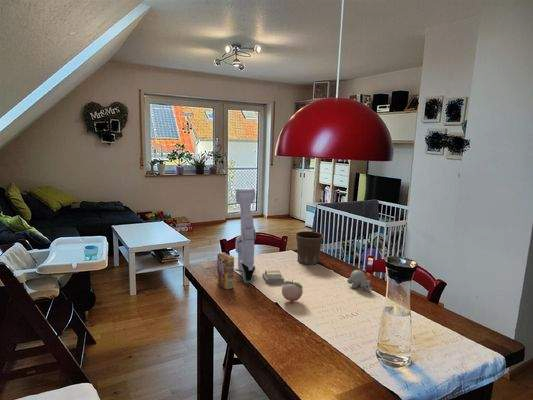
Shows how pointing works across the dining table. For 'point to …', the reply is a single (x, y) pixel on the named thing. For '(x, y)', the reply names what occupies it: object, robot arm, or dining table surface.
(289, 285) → the decorative fruit
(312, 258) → the plant pot
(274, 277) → the top slab
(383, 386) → the dining table surface
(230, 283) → the candy box
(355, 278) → the chubby cartoon animal
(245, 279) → the teal cube
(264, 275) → the base slab
